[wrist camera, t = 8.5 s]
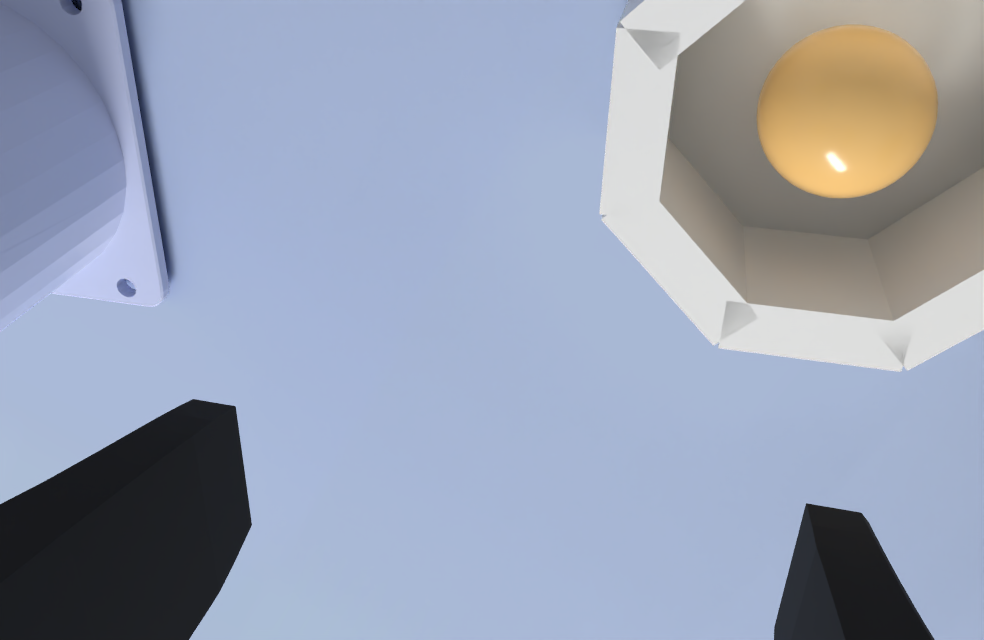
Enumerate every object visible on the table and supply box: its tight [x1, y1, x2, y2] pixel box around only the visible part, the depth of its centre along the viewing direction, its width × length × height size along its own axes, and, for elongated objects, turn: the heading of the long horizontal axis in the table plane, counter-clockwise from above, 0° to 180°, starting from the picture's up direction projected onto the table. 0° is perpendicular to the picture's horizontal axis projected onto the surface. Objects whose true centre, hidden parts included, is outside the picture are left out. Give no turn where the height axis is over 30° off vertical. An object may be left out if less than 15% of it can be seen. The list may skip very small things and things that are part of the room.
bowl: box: [599, 0, 984, 372], centre depth 17 cm, size 8×8×4 cm
